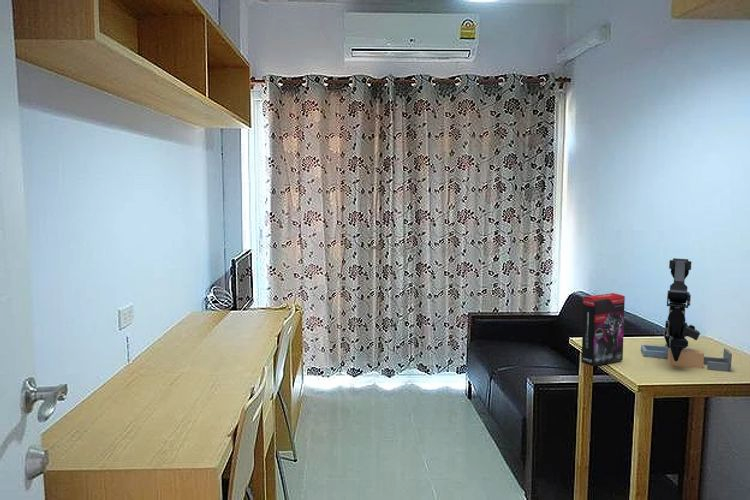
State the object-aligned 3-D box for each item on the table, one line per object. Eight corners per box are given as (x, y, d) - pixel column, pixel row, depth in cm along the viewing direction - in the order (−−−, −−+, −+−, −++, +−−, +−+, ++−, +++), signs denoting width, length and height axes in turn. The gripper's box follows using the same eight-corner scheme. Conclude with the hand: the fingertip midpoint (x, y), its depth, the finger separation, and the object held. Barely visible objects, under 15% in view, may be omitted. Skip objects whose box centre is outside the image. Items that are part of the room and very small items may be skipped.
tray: (643, 356, 252) (644, 350, 251) (640, 350, 261) (641, 344, 261) (689, 360, 247) (689, 354, 246) (684, 353, 256) (684, 348, 256)
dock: (707, 369, 235) (708, 352, 234) (702, 363, 243) (704, 346, 242) (730, 371, 233) (731, 353, 232) (725, 365, 240) (726, 348, 239)
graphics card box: (592, 367, 237) (596, 299, 233) (579, 362, 243) (582, 295, 239) (623, 361, 244) (627, 295, 241) (609, 357, 251) (612, 292, 247)
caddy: (669, 365, 240) (670, 350, 240) (667, 362, 245) (668, 347, 244) (703, 368, 237) (704, 353, 236) (700, 364, 242) (701, 350, 241)
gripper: (704, 326, 229) (701, 366, 231) (694, 316, 246) (691, 353, 248) (672, 324, 232) (669, 363, 234) (664, 314, 250) (661, 350, 252)
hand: (673, 357), depth 242 cm, fingers open, 9 cm apart
